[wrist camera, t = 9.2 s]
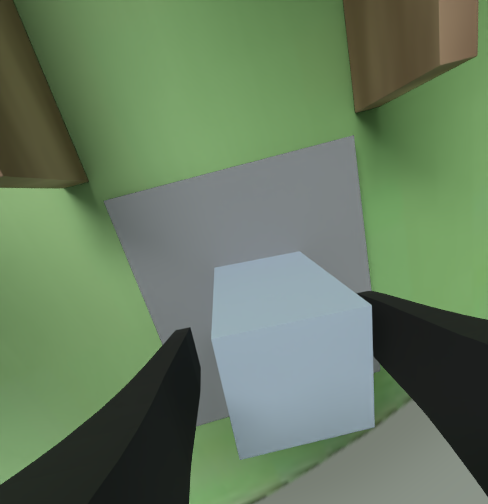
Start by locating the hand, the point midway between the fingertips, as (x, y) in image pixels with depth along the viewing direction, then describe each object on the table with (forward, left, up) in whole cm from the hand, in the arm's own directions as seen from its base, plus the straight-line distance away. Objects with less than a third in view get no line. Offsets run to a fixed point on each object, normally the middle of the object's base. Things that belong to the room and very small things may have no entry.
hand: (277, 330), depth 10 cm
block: (0, 0, -3) cm, 3 cm away
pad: (0, 0, -3) cm, 3 cm away
